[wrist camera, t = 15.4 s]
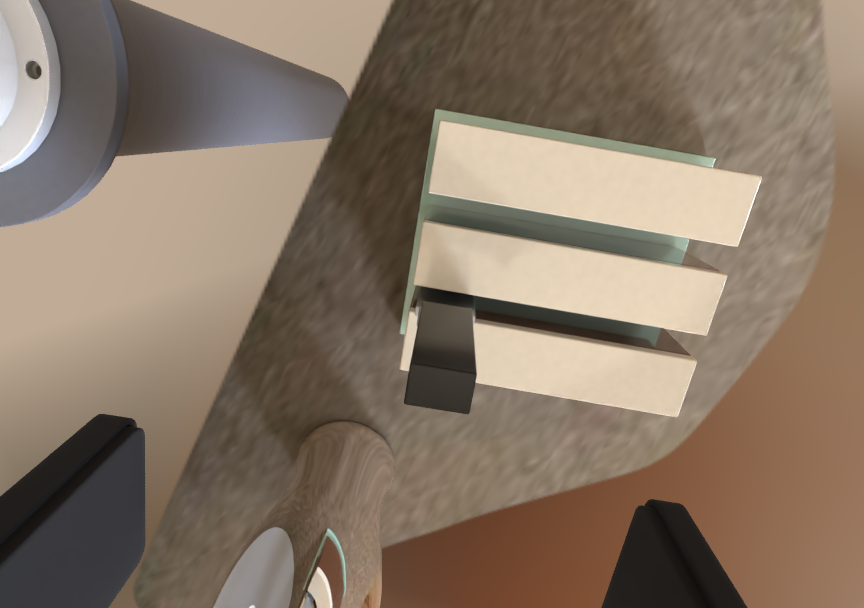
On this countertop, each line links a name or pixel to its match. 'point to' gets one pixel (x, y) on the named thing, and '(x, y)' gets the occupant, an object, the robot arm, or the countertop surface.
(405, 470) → the countertop surface
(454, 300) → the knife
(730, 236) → the slatted panel
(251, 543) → the beer glass
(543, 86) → the countertop surface
